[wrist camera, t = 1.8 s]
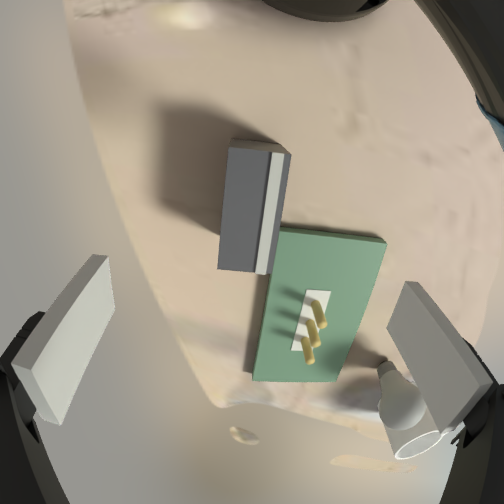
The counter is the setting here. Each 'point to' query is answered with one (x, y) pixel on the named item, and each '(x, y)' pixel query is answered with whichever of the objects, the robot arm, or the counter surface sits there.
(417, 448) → the cup
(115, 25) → the counter surface
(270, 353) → the board
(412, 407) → the lightbulb
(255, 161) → the block
